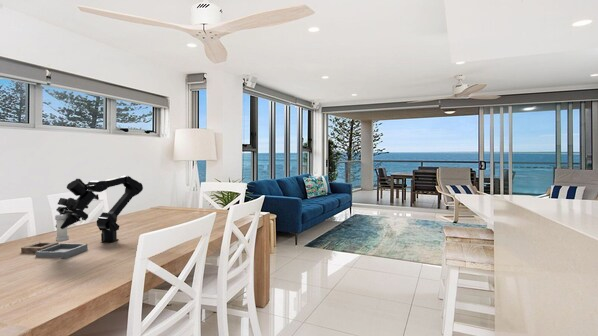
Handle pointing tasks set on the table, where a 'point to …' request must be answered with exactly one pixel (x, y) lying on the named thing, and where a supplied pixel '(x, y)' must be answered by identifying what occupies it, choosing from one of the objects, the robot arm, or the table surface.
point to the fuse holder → (37, 247)
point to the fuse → (61, 233)
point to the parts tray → (62, 250)
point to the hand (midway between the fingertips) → (58, 228)
